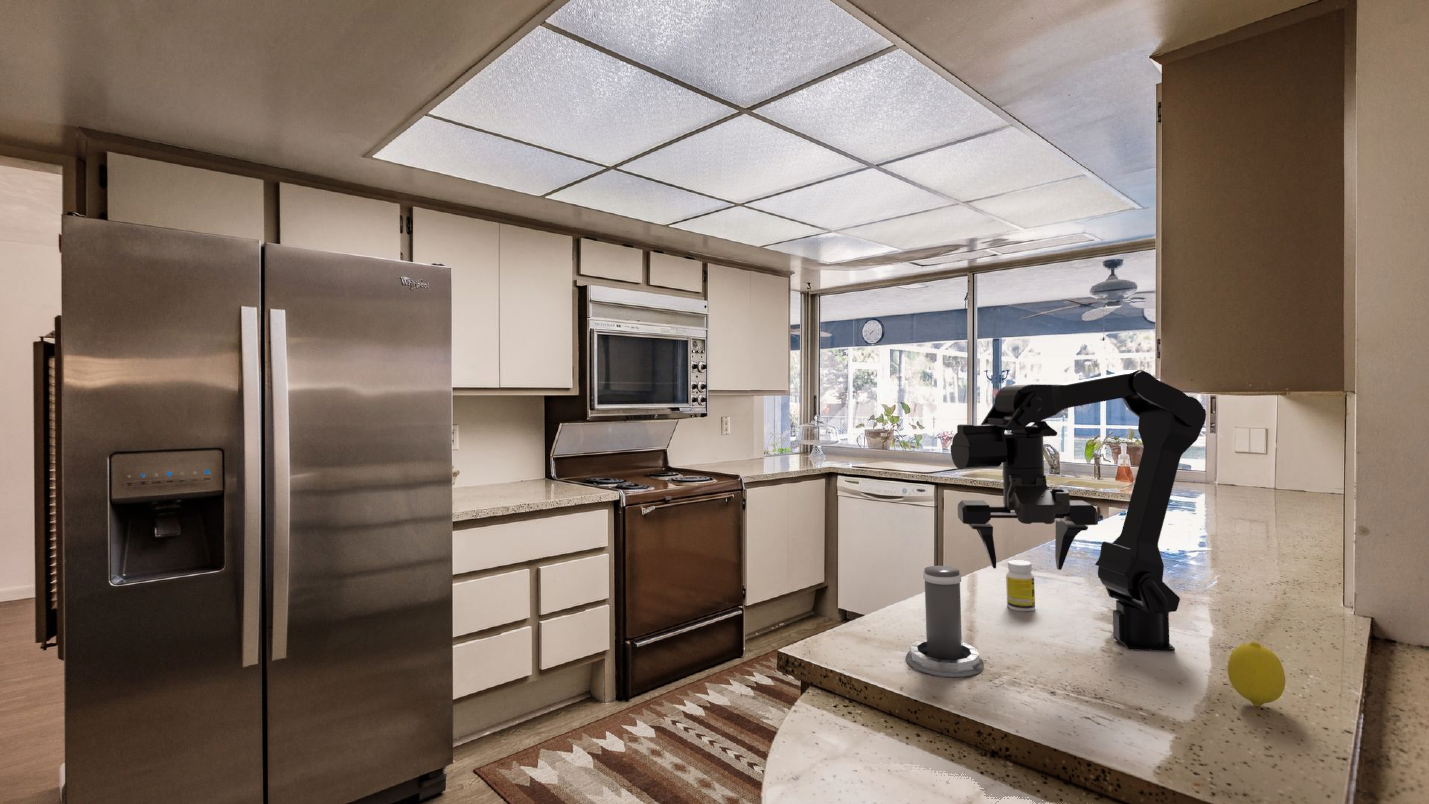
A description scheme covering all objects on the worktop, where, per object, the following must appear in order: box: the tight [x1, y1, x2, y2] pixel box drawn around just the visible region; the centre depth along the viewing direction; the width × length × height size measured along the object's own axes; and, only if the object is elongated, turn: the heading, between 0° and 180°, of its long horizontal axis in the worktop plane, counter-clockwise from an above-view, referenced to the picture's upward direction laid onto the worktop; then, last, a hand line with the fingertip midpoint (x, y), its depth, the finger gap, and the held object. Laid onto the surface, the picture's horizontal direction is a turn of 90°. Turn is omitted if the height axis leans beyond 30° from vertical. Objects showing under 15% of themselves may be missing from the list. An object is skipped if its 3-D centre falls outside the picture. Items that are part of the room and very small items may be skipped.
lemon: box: [1227, 641, 1286, 707], centre depth 82 cm, size 6×6×8 cm
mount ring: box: [905, 638, 985, 679], centre depth 98 cm, size 11×11×2 cm
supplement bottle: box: [1005, 559, 1036, 612], centre depth 121 cm, size 5×5×8 cm
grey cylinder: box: [922, 565, 963, 660], centre depth 98 cm, size 5×5×14 cm
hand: (1026, 568), depth 100 cm, fingers open, 9 cm apart
